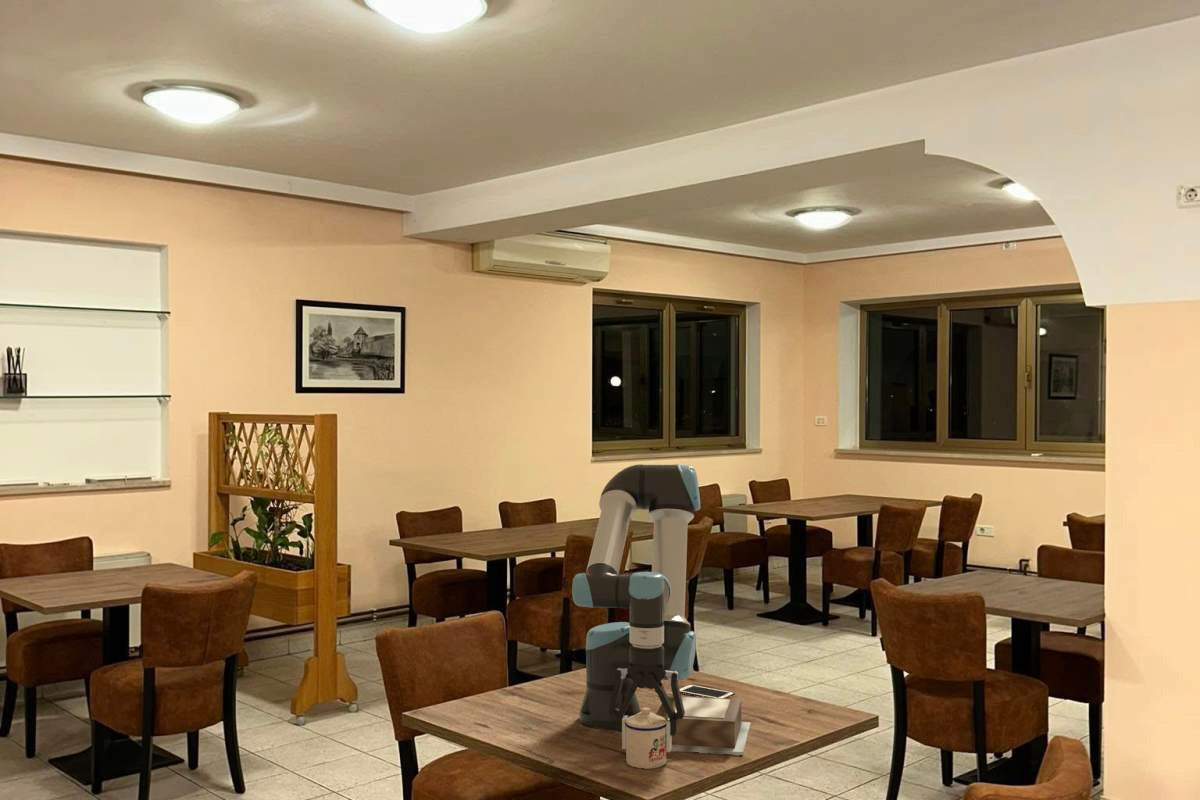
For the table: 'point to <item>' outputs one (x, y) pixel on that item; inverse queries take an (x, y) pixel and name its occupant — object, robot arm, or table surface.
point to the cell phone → (705, 691)
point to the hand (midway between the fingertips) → (646, 748)
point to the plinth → (709, 726)
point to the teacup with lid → (646, 740)
